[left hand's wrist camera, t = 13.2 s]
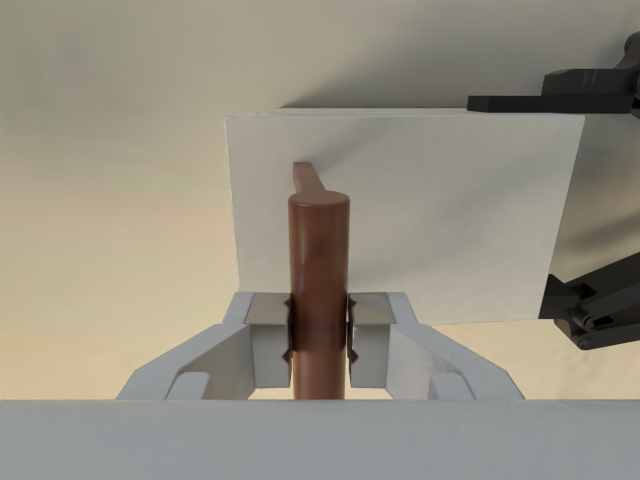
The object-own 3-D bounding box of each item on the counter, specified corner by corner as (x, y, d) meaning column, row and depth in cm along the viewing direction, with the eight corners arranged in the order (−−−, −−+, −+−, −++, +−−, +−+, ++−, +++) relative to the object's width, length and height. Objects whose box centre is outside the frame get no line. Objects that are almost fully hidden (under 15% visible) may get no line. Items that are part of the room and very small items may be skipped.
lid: (244, 326, 18) (223, 479, 11) (226, 116, 15) (180, 134, 7) (525, 308, 19) (672, 432, 12) (569, 114, 16) (805, 128, 9)
